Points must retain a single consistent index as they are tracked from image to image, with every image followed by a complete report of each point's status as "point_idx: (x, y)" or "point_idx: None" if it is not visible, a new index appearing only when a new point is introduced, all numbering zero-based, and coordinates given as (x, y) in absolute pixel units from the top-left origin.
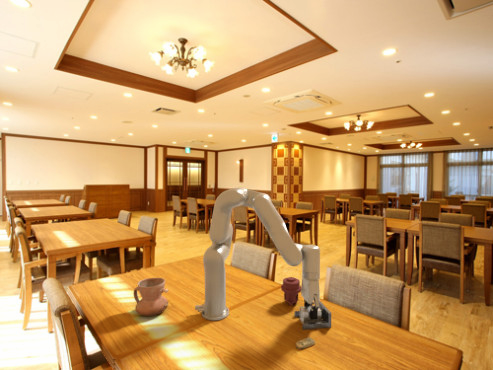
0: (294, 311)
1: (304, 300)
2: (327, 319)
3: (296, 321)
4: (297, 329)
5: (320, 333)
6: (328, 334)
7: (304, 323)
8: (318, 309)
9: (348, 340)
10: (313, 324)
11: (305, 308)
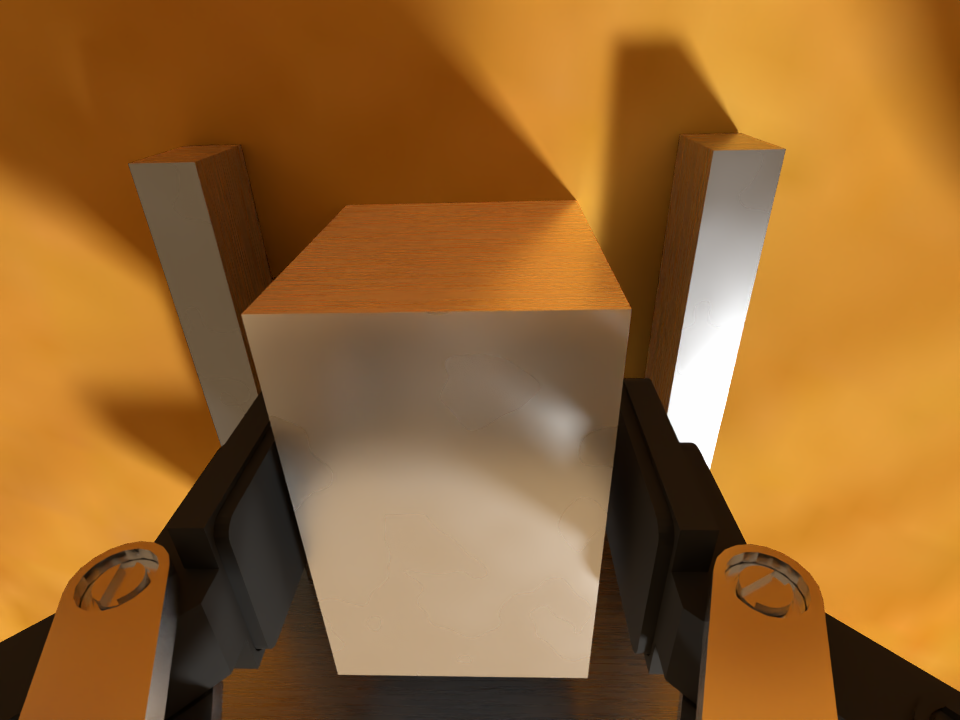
0: (781, 148)
1: (790, 579)
2: (292, 606)
3: (500, 100)
4: (184, 11)
5: (122, 383)
6: (119, 467)
7: (198, 209)
8: (398, 650)
9: (42, 596)
10: (200, 369)
11: (479, 434)
